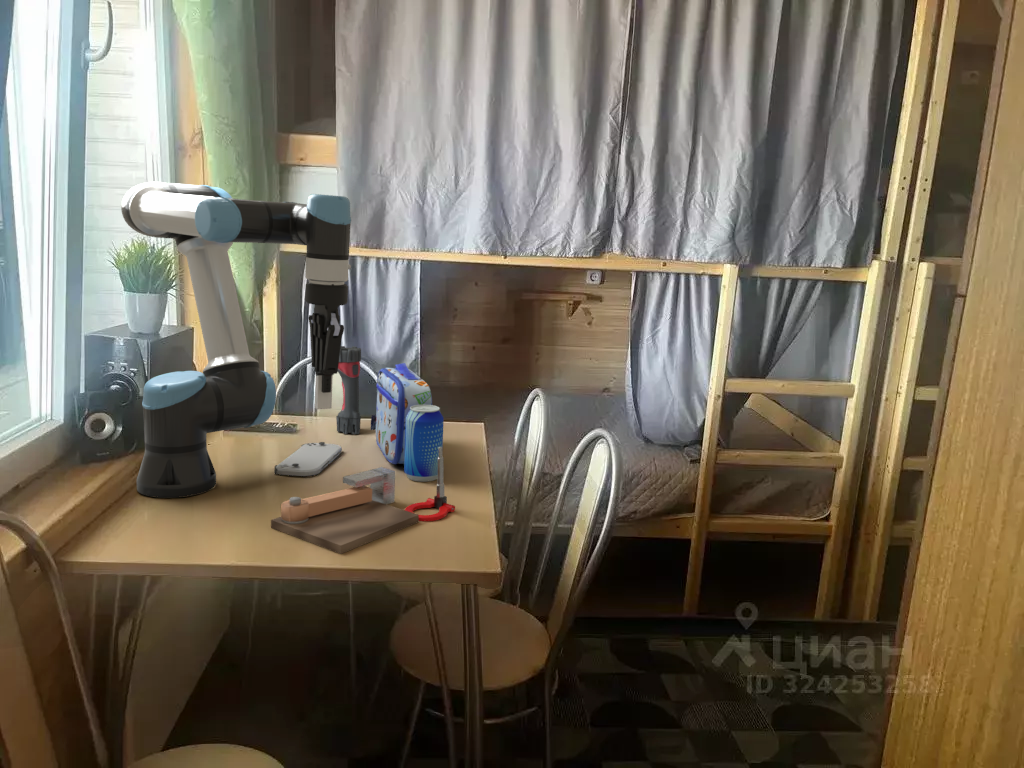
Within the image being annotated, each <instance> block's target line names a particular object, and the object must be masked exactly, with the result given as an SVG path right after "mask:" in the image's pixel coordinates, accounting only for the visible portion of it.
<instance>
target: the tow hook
mask: <svg viewBox="0 0 1024 768" xmlns="http://www.w3.org/2000/svg"><path fill="white" fill-rule="evenodd" d="M437 463H438V478H437V483H436V495H434V497H433V498H432V497H431V498H430V497H428V498H427V499H426V501H422V502H416V503H411V504H409V505H408V506H406V507H405V508H404V510H405V511H408V512H412V513H414V511H417V510H420V509H430V508H435V509H438V512H436V513H433V514H426V515H425V514H418V515H419V522H434V521H438V520H441V519H444V518H445V517H446V516H447V515H448V513H454V512H455V510H456V506H455V505H453V504H450V503H448V497H447V496H446V495H445V483H444V457H443V450H442V447H439V457H438V458H437Z"/></svg>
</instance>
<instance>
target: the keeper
mask: <svg viewBox="0 0 1024 768" xmlns="http://www.w3.org/2000/svg"><path fill="white" fill-rule="evenodd" d="M342 484H345V485H348V486H351V487H352V488H353V487H356V488H357V487H360V486H367V485H369V488H371V489H372V500H374V501H377V502H380V503H383V504H386V505H389V504H392V503H395V497H396V496H395V494H396V493H395V489H396V488H395V487H396V486H395V485H396V471H395V470H392V469H390V468H386V467H383V466H381V467H380V466H379V467H377V468H372V469H368V470H364V471H361V472H357V473H352V474H350V475H345V476H343V477H342Z"/></svg>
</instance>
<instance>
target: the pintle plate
mask: <svg viewBox="0 0 1024 768" xmlns="http://www.w3.org/2000/svg"><path fill="white" fill-rule="evenodd" d="M419 515H420V514H418V513H415V512H413V513H412V512H408V511H405V509H401V508H398V507H395V506H392V505H389V504H383V503H380V502H377V501H374V500H372V501H371V502H367V503H363V504H359V505H355V506H351V507H346V508H342V509H338V510H334V511H330V512H326V513H322V514H318V515H314V516H310V517H308V518H307V519H305V520H302V521H296V522H291V521H290V522H289V521H285V520H283V519H282V517H281V516H278V517H276V518H273V519H270V527H271V528H272V529H274V530H277V531H278V532H279V531H280V532H282V533H284V534H287V535H290V536H292V537H295V538H296V539H300V540H302V541H306V542H309V543H311V544H313V545H316V546H319V547H321V548H323V549H326V550H330V551H331V552H332V551H333V553H334V552H335V553H338V554H340V555H341V554H344V553H347V552H349V551H351V550H354V549H357V548H359V547H361V546H363V545H367V544H368V543H371V542H374V541H376V540H378V539H381V538H383V537H386V536H388V535H390V534H393V533H395V532H397V531H400V530H403V529H405V528H408V527H410V526H412V525H415V524H417V523H419V522H420V521H419ZM373 540H374V541H373Z"/></svg>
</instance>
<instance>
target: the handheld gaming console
mask: <svg viewBox="0 0 1024 768" xmlns="http://www.w3.org/2000/svg"><path fill="white" fill-rule="evenodd" d="M342 452H343V448H342V446H341V445H339V444H335V443H327V442H326V443H325V442H323V441H321V442H320V441H319V442H307V443H304V444H302V445H301V446H300V447H299V448H298V449H296V450H295V451H294V452H293V453H291V454H290V455H288V457H286V458H285V459H283V460H282V461H280V463H278V464H276V465H275V466H274V467H273V469H274V473H275V474H276V475H278V474H280V475H279V476H281V475H289V476H288V477H293V476H301V477H300V478H308V477H307V476H312V477H315V476H314V475H316V476H317V475H318V474H320V473H321V472H323V470H324V469H325V468H326V467H328V464H329V465H330V464H331V463H332V462H333V461H334V460H335V459H336V458H338V456H340V455H341V454H342ZM274 473H273V474H274ZM275 474H274V475H275ZM302 476H303V477H302ZM305 476H306V477H305Z"/></svg>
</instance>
